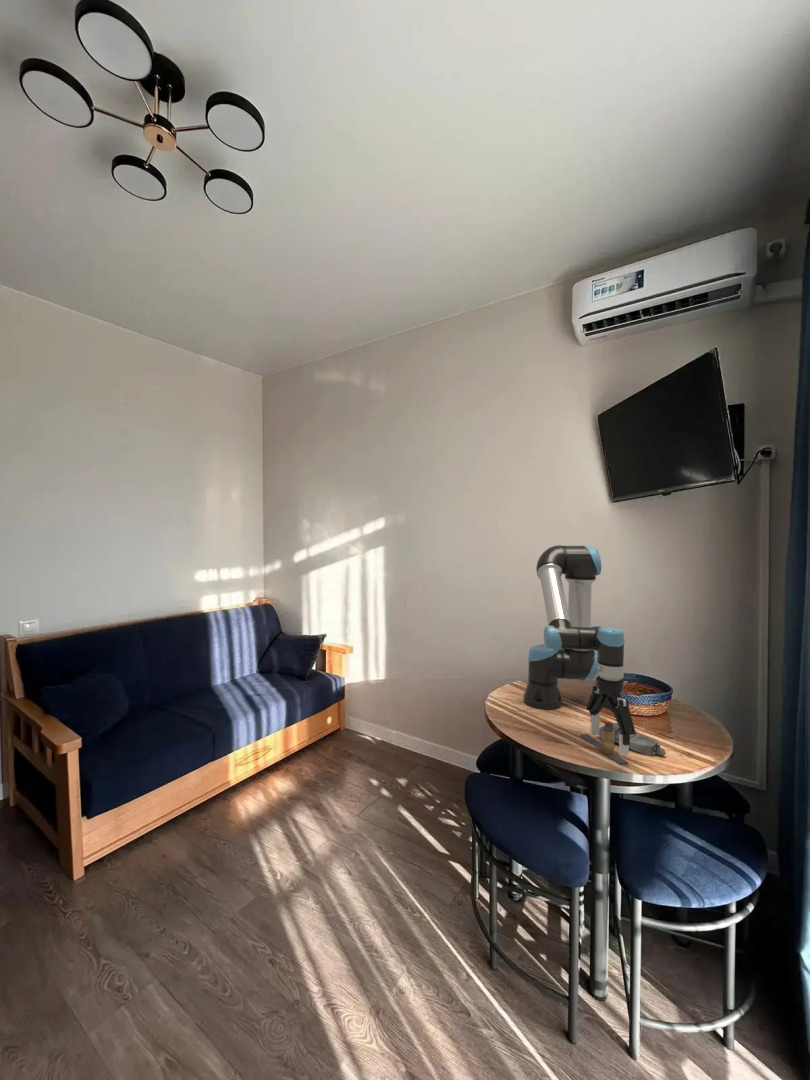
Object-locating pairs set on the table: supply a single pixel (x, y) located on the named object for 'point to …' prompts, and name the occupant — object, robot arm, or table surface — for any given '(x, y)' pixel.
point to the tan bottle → (608, 739)
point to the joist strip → (599, 746)
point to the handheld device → (638, 742)
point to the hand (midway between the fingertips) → (608, 744)
